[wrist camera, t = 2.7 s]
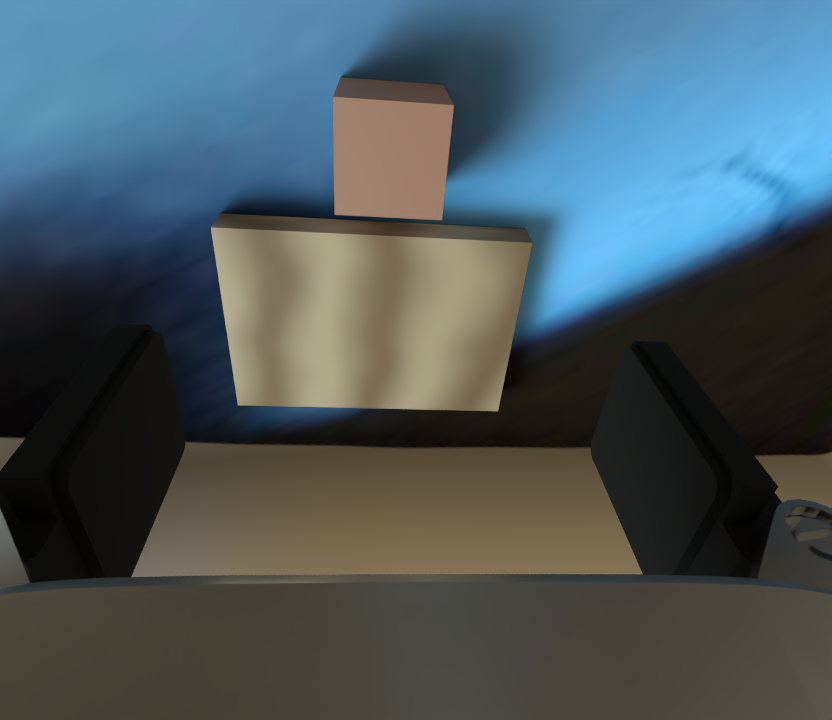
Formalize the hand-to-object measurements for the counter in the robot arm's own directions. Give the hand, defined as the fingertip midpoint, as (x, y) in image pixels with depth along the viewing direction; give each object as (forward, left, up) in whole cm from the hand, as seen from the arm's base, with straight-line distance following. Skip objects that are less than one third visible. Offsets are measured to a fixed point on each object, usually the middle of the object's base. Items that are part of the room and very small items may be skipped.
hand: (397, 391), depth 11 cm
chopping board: (+7, +8, -21) cm, 23 cm away
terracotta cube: (0, 0, -21) cm, 21 cm away
